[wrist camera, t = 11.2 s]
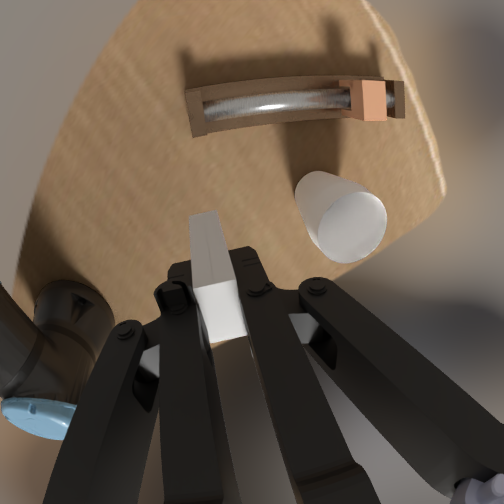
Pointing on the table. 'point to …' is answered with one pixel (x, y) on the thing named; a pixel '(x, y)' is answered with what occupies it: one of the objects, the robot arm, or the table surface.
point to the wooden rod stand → (278, 101)
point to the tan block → (366, 100)
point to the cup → (340, 216)
